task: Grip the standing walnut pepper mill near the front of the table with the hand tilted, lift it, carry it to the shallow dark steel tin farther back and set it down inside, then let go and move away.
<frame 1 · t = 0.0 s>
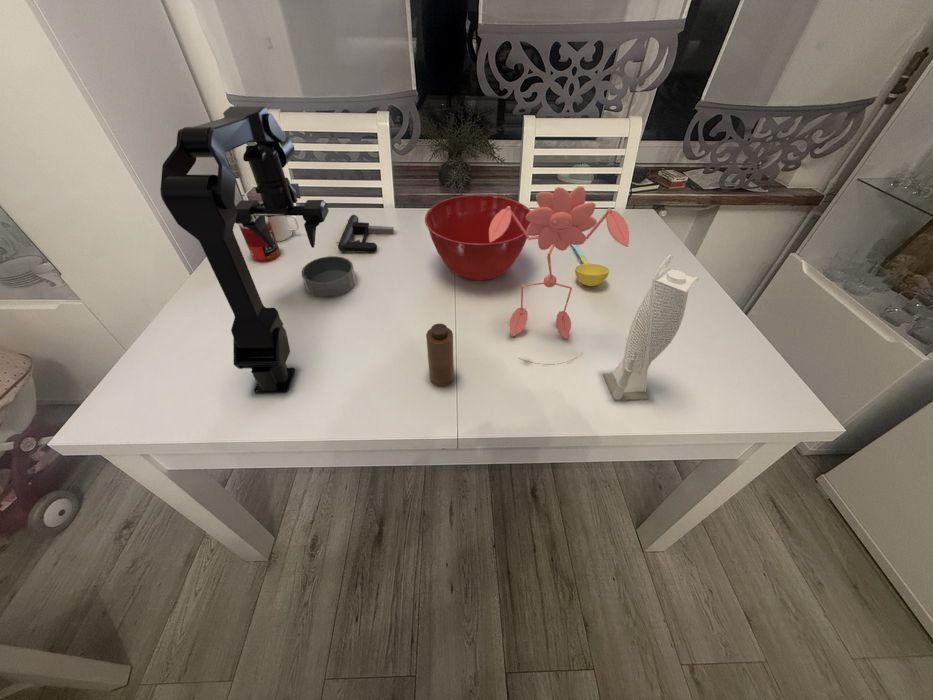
hand: (293, 247, 90), 15 cm above the table, tool pointing down, fingers open, 9 cm apart
door handle: (367, 238, 123), on the table
tin: (331, 283, 105), on the table
canned food: (267, 256, 115), on the table
pepper mill: (441, 377, 81), on the table
figurine: (538, 343, 89), on the table
mug: (282, 236, 124), on the table
ladle: (581, 266, 113), on the table
mixing bowl: (477, 267, 112), on the table
skyscraper: (626, 384, 80), on the table
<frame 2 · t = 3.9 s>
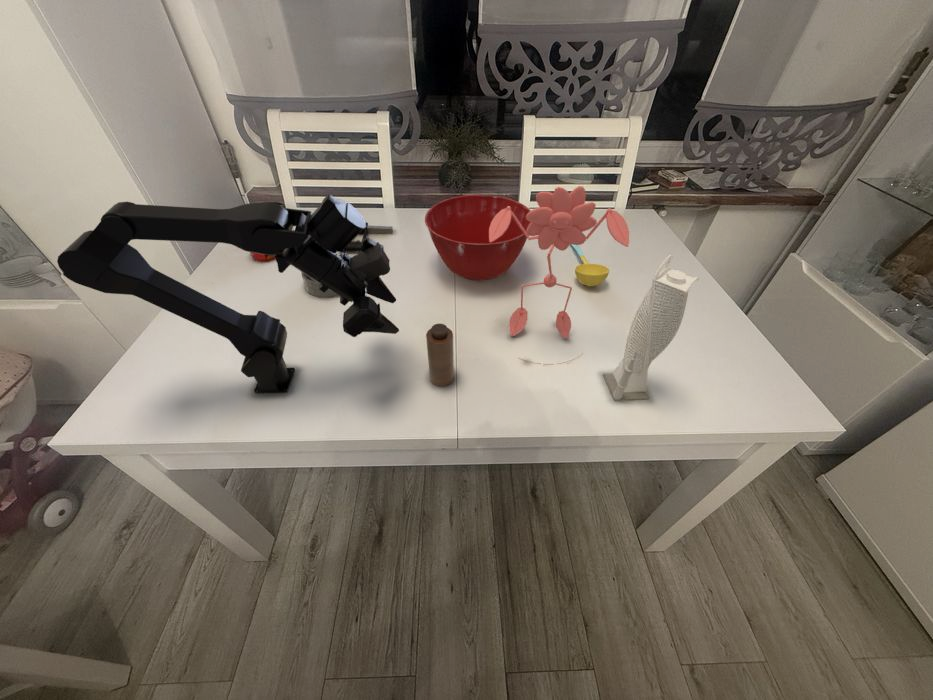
hand: (396, 315, 74), 14 cm above the table, tool tilted 40°, fingers open, 9 cm apart
nothing on the table moved.
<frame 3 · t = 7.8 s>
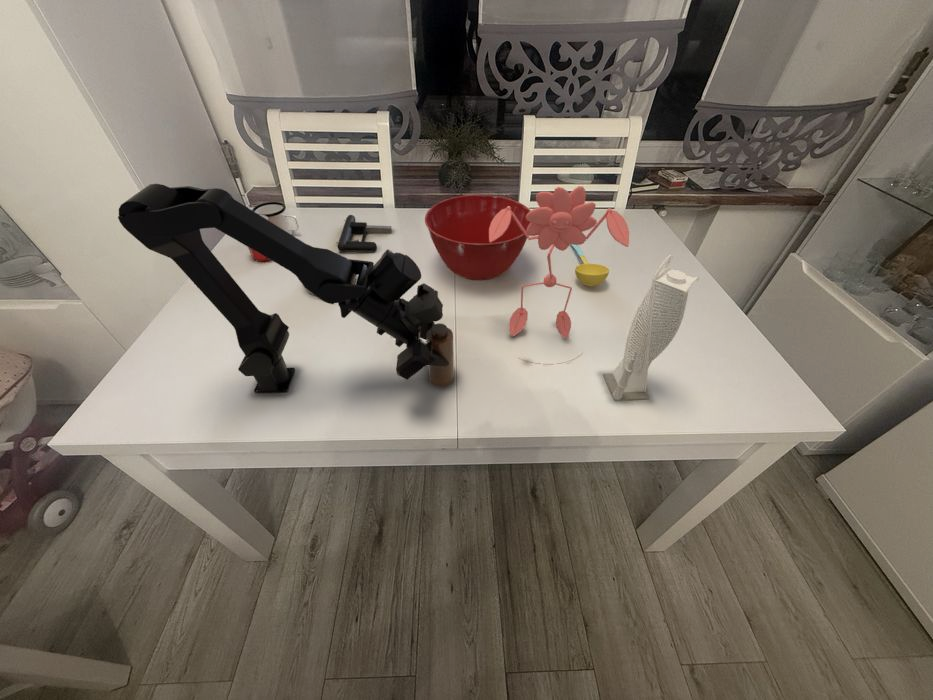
hand: (447, 355, 76), 7 cm above the table, tool tilted 45°, fingers closed on pepper mill, 5 cm apart
pepper mill: (441, 377, 81), on the table, touching gripper
everything else where it was.
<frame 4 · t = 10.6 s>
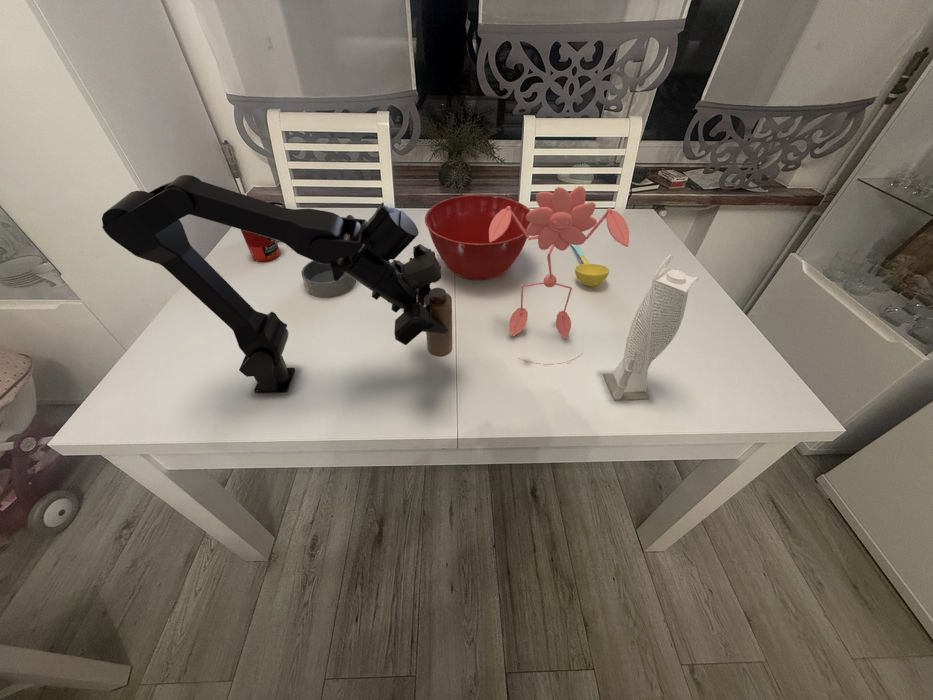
hand: (446, 322, 73), 13 cm above the table, tool tilted 45°, fingers closed on pepper mill, 5 cm apart
pepper mill: (440, 348, 78), point 7 cm above the table, touching gripper
everything else where it was.
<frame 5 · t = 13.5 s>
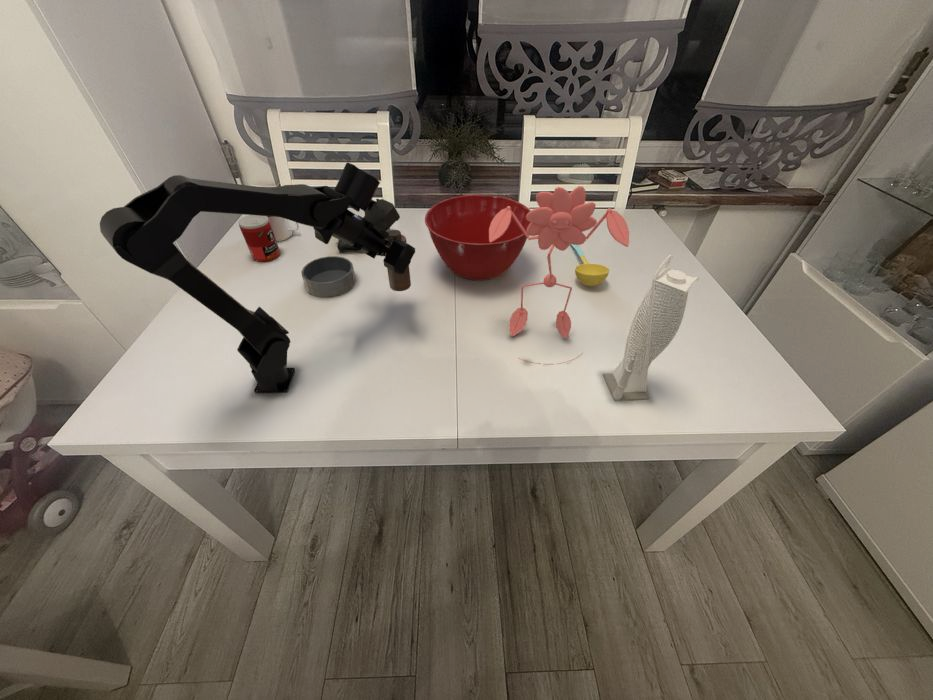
hand: (402, 258, 89), 13 cm above the table, tool tilted 45°, fingers closed on pepper mill, 5 cm apart
pepper mill: (400, 285, 93), point 7 cm above the table, touching gripper
everything else where it was.
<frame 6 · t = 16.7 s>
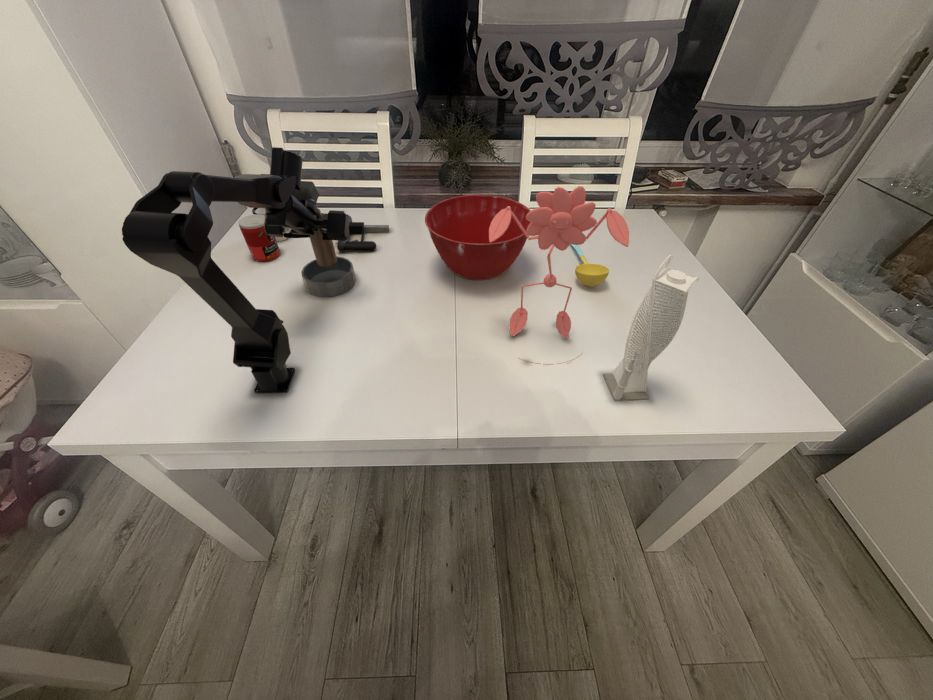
hand: (322, 235, 97), 13 cm above the table, tool tilted 45°, fingers closed on pepper mill, 5 cm apart
pepper mill: (327, 261, 100), point 7 cm above the table, touching gripper
when the fingers open (7 cm above the table, at t = 19.3 s): pepper mill stays where it is, resting on tin.
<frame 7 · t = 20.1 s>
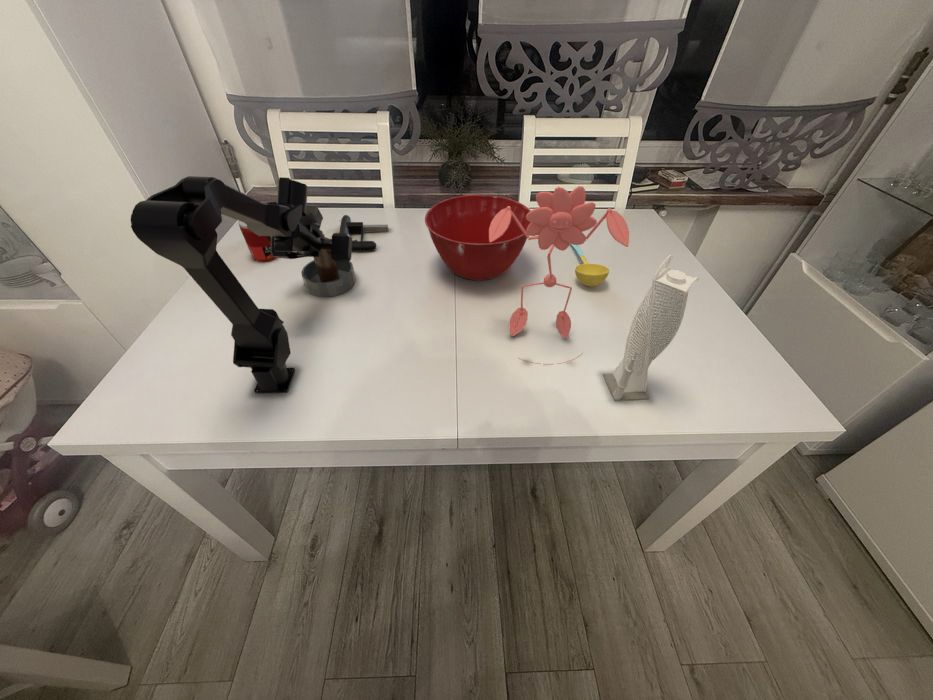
hand: (326, 255, 101), 8 cm above the table, tool tilted 45°, fingers open, 9 cm apart
pepper mill: (330, 282, 105), resting on tin
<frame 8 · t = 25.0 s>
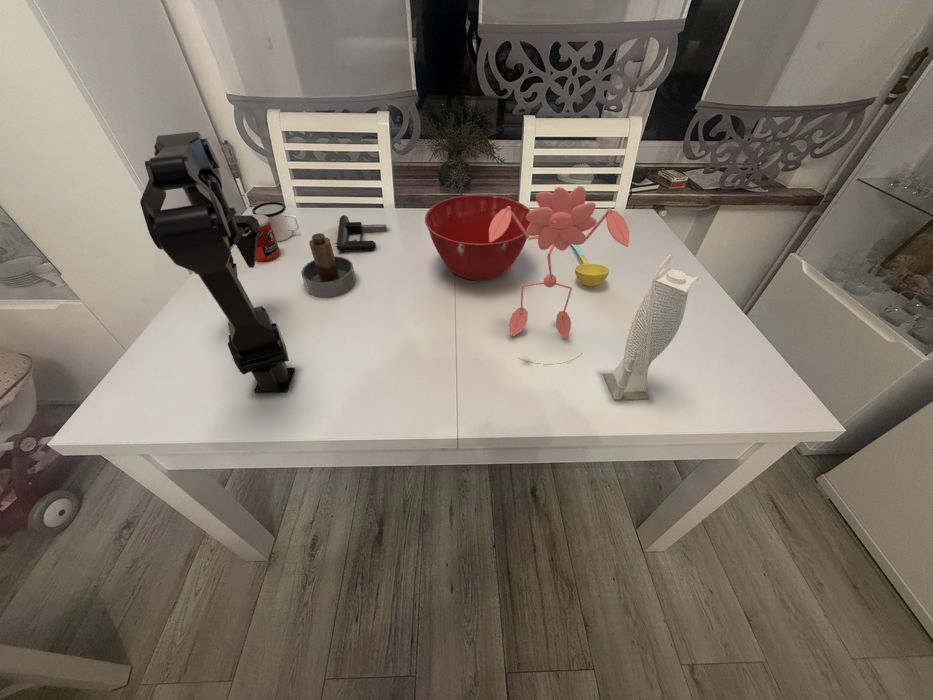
hand: (244, 278, 83), 13 cm above the table, tool pointing down, fingers open, 9 cm apart
at the end: pepper mill inside the target area in the tin (0.0 cm from its centre), point 0.4 cm above the tin's base; the gripper is holding nothing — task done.
